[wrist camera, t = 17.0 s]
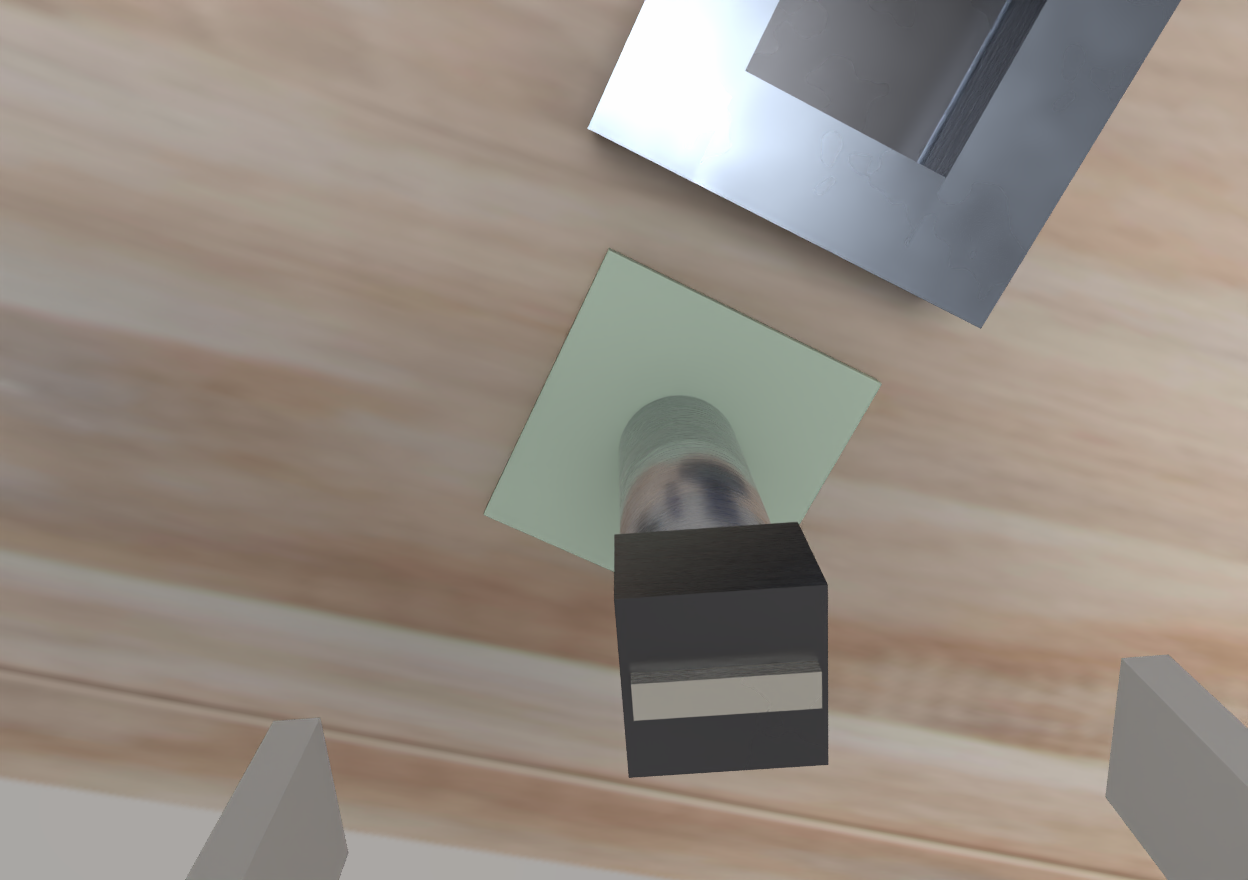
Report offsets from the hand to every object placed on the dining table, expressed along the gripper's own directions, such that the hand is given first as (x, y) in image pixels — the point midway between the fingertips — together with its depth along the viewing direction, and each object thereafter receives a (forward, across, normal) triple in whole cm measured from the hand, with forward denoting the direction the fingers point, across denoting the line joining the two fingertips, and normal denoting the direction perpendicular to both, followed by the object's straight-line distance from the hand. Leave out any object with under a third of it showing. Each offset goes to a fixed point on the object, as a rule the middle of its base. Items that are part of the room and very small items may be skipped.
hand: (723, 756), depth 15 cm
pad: (+17, 0, 0) cm, 17 cm away
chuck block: (+17, +7, +12) cm, 22 cm away
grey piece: (+17, 0, -1) cm, 17 cm away
